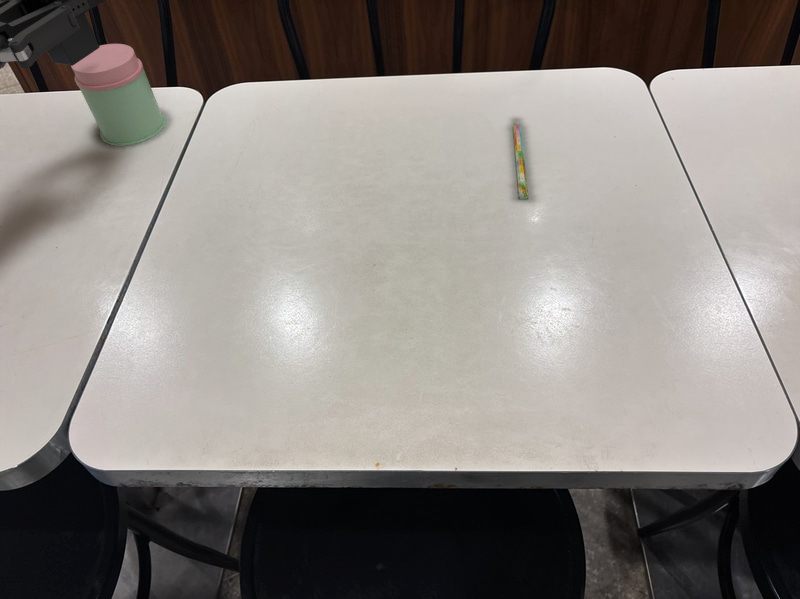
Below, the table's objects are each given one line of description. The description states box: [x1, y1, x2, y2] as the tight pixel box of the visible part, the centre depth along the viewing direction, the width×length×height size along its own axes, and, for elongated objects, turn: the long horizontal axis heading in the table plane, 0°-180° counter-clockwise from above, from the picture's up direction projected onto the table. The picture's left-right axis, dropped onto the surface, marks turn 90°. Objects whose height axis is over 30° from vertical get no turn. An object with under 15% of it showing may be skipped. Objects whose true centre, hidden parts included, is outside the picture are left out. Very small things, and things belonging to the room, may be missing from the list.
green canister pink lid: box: [70, 43, 168, 147], centre depth 87 cm, size 10×10×12 cm
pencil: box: [512, 118, 530, 201], centre depth 80 cm, size 1×1×18 cm
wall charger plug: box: [21, 0, 100, 67], centre depth 71 cm, size 3×5×10 cm, turn 158°
